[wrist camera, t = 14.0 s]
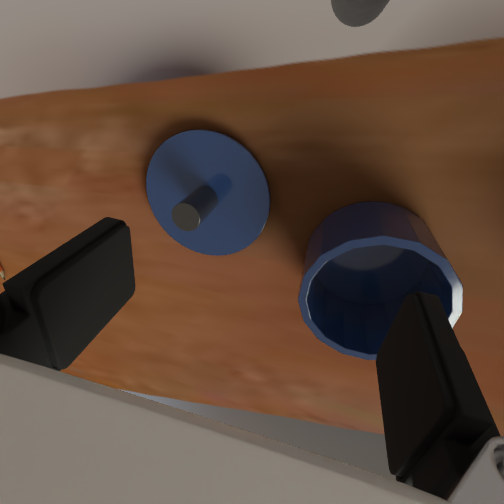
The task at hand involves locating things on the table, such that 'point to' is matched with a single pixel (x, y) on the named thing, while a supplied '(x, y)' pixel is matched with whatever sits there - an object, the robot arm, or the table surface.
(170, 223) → the lid
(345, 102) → the table surface
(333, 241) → the pot
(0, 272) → the pencil
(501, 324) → the table surface
